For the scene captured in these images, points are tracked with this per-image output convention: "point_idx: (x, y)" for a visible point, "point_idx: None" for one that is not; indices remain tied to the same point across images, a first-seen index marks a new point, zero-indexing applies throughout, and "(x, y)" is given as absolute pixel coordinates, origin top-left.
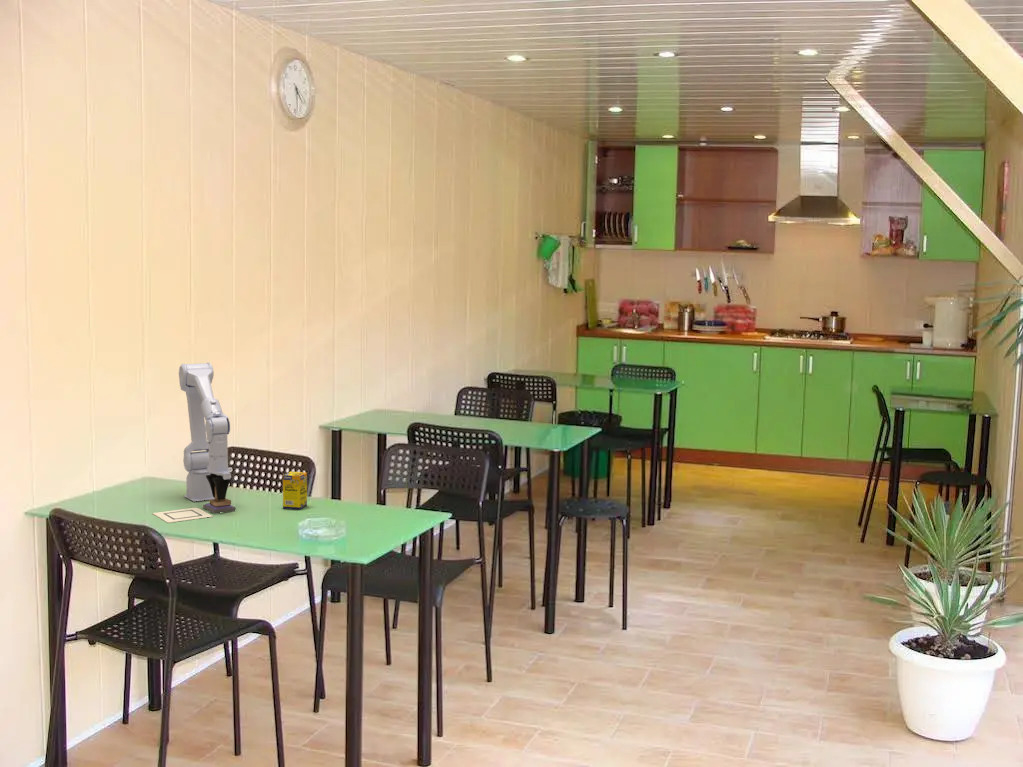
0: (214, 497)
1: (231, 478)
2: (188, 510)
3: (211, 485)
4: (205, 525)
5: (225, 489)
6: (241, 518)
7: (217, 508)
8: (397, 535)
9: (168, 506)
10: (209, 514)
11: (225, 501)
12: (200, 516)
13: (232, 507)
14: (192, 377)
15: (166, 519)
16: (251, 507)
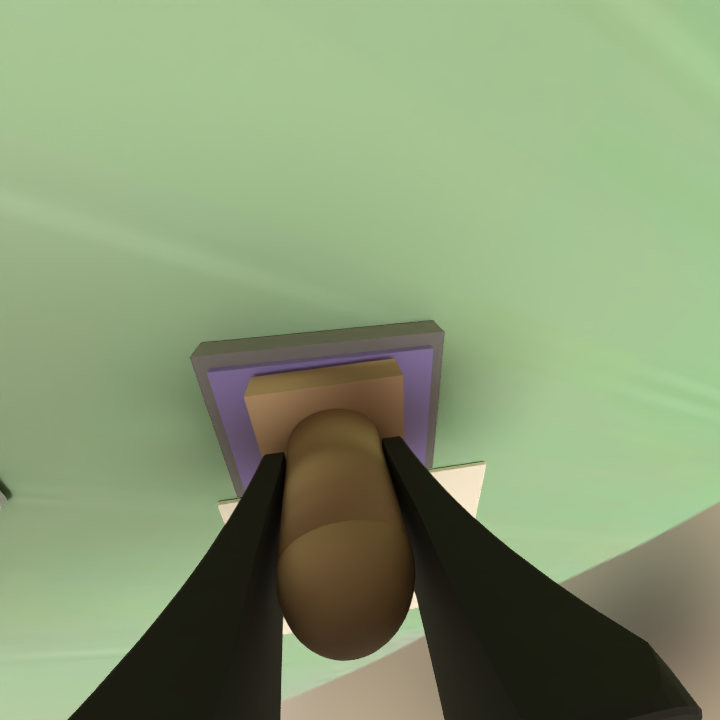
0: None
1: (675, 686)
2: None
3: (279, 652)
4: (594, 505)
5: (448, 518)
6: (629, 343)
7: (425, 451)
8: None
9: (119, 597)
10: (434, 473)
11: (402, 420)
12: None
13: (435, 353)
14: None
15: (411, 603)
16: (377, 137)
